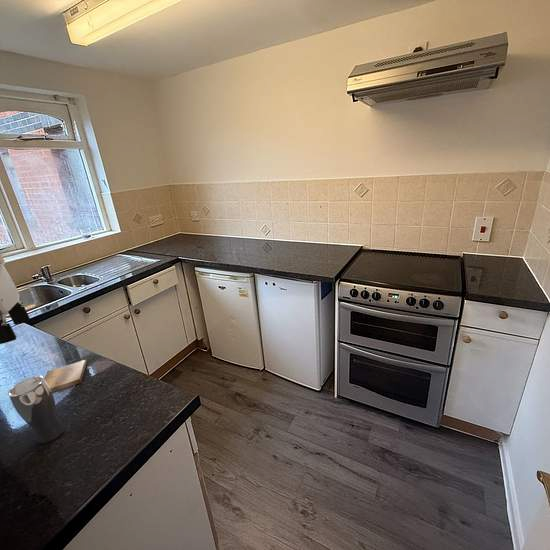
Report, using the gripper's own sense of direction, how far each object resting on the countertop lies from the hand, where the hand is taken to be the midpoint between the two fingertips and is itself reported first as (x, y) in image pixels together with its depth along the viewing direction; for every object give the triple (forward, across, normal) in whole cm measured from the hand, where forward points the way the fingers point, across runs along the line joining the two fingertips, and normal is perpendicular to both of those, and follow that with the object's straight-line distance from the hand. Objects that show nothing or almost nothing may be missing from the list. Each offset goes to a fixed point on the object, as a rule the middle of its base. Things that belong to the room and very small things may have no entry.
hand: (16, 331), depth 69 cm
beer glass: (+26, +6, -1) cm, 27 cm away
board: (+26, -18, -2) cm, 32 cm away
